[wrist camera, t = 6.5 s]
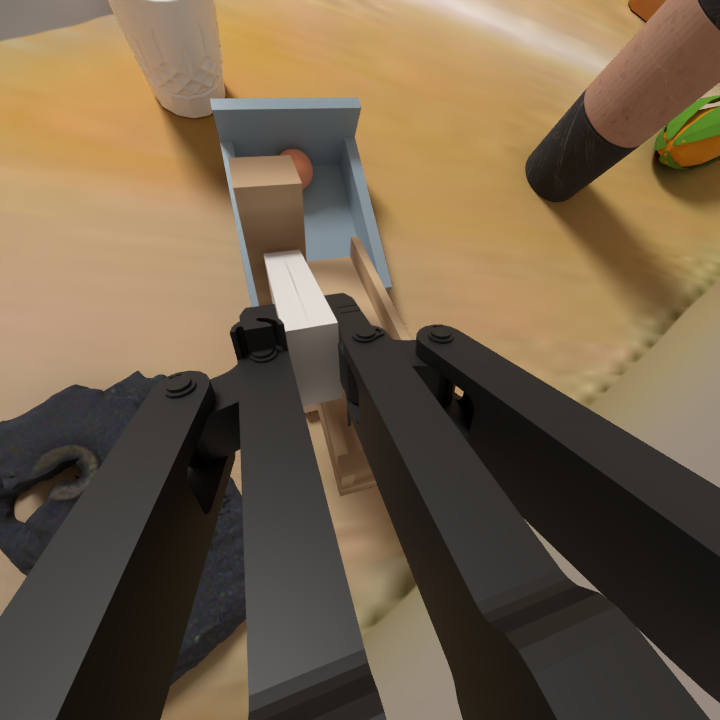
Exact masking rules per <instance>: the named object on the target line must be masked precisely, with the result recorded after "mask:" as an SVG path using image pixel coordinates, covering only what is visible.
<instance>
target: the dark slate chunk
mask: <svg viewBox="0 0 720 720" xmlns="http://www.w3.org/2000/svg"><path fill="white" fill-rule="evenodd" d="M166 377H167V376H165V375H157V376H155V377H154V378H146V377H144V376H143V375H142V374H141V373H140V372H139V371H136V372H135V373H133V374H132V375H130V376H129V377H127V378H126V379H124V380H123V381H121V382H119V383H117V384H115V385H113V386H111V387H110V388H108V389H107V390H105V391H102V390H99V389H90V388H88V387H84V386H80V385H77V384H76V385H73V386H70V387H68V388H66V389H64V390H62V391H61V392H59V393H57V394H55V395H53V396H51V397H50V398H49V399H48V400H46V401H45V402H44V403H42V404H40V405H39V406H37V407H35V408H33V409H31V410H30V411H28V412H27V413H25V414H23V415H21V416H19V417H16V418H14V419H12V420H8V421H1V422H0V549H1V551H2V552H3V553H4V554H5V555H6V556H7V557H8V558H9V559H10V561H11V562H12V563H13V564H14V565H15V566H16V567H17V568H18V569H19V570H20V571H21V572H22V573H23V574H25V575H27V576H28V574H29V573H30V571H31V570H32V568H33V567H34V565H35V564H36V562H37V561H38V559H39V558H40V556H41V555H42V553H43V552H44V550H45V549H46V547H47V546H48V544H49V543H50V541H51V540H52V538H53V537H54V535H55V534H56V532H57V531H58V529H59V528H60V526H61V525H62V523H63V522H64V520H65V519H66V517H67V516H68V514H69V513H70V511H71V510H72V508H73V507H74V505H75V504H76V502H77V501H78V499H79V498H80V496H81V495H82V493H83V492H84V490H85V489H86V487H87V486H88V484H89V483H90V481H91V480H92V478H93V477H94V475H95V474H96V472H97V471H98V469H99V468H100V466H101V465H102V463H103V462H104V460H105V458H106V457H107V455H108V454H109V452H110V451H111V449H112V448H113V446H114V445H115V443H116V442H117V440H118V439H119V437H120V436H121V434H122V433H123V431H124V430H125V428H126V427H127V425H128V424H129V422H130V421H131V419H132V418H133V416H134V415H135V413H136V412H137V410H138V409H139V407H140V406H141V404H142V403H143V401H144V400H145V398H146V397H147V395H148V394H149V392H150V391H151V389H152V388H153V387H154V386H155V385H156V384H157V383H158V382H160V381H161V380H163V379H165V378H166ZM75 463H76V464H77V465H78V466H79V467H80V469H81V471H82V475H81V477H80V478H78V477H77V476H76V475H75V476H76V477H77V478H78V480H76V481H73V482H71V483H70V482H68V481H67V480H66V479H65V480H64V481H62V482H61V483H59V484H58V485H56V486H55V487H54V488H53V489H52V490H51V491H50V493H49V495H48V499H47V501H46V503H44V504H43V505H42V506H40V507H39V508H38V509H37V510H36V511H35V512H34V513H33V514H32V515H31V517H30V518H29V519H28V520H27V521H26V522H25V523H23V522H20V521H18V520H17V519H16V518H15V516H14V503H15V501H16V499H17V498H18V497H19V496H20V495H21V494H22V493H23V492H25V491H27V490H29V489H30V488H31V487H32V486H34V485H36V484H37V483H39V482H41V481H44V480H48V479H51V478H53V477H54V476H55V475H57V474H59V473H60V472H62V471H63V470H65V469H66V468H68V467H70V466H72V465H73V464H75ZM245 618H246V597H245V568H244V538H243V508H242V496H241V494H240V492H239V490H238V489H237V487H236V485H235V483H234V481H233V479H232V478H231V477H230V478H229V481H228V485H227V488H226V492H225V495H224V499H223V502H222V506H221V509H220V513H219V516H218V520H217V523H216V527H215V530H214V534H213V537H212V541H211V544H210V548H209V551H208V555H207V558H206V562H205V565H204V569H203V572H202V575H201V579H200V582H199V586H198V589H197V593H196V596H195V600H194V603H193V607H192V610H191V614H190V617H189V621H188V624H187V628H186V631H185V635H184V638H183V642H182V645H181V649H180V652H179V656H178V659H177V663H176V666H175V670H174V673H173V677H172V680H171V684H170V685H172V684H173V683H174V682H175V681H176V680H177V679H178V678H180V677H181V676H182V675H183V674H184V673H186V672H187V671H188V670H190V669H192V668H193V667H195V666H197V665H198V663H199V662H201V661H202V660H203V659H204V658H205V657H206V656H207V655H208V654H209V653H210V652H211V651H212V650H213V649H214V648H215V647H216V646H217V645H218V644H219V643H221V642H223V641H224V640H225V639H226V638H227V637H229V636H230V635H231V634H232V633H233V632H234V630H235V629H236V628H237V627H238V625H239V624H241V623H242V622H243V621H244V619H245Z"/></svg>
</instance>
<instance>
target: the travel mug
mask: <svg viewBox="0 0 720 720" xmlns="http://www.w3.org/2000/svg"><path fill="white" fill-rule="evenodd" d="M719 82H720V0H666V1H665V2H664V4H663V5H662V6H661V7H660V8H659V9H658V10H657V11H656V12H655V14H654V15H653V16H652V17H651V18H650V19H649V20H648V21H647V22H646V23H645V25H644V26H643V27H642V28H641V29H640V30H639V31H638V32H637V33H636V35H635V36H634V37H633V38H632V39H631V40H630V41H629V42H628V43H627V44H626V46H625V47H624V48H623V49H622V50H621V51H620V52H619V53H618V54H617V56H616V57H615V58H614V59H613V60H612V61H611V62H610V63H609V64H608V65H607V67H606V68H605V69H604V70H603V71H602V72H601V73H600V74H599V75H598V77H597V78H596V79H595V80H594V81H593V82H592V83H591V84H590V85H589V87H588V88H587V89H586V90H585V91H584V92H583V93H582V95H581V96H580V97H579V98H578V99H577V101H576V102H575V103H574V104H573V105H572V106H571V108H570V109H569V110H568V111H567V112H566V114H565V115H564V116H563V117H562V118H561V119H560V121H559V122H558V123H557V124H556V125H555V126H554V128H553V129H552V130H551V131H550V132H549V134H548V135H547V136H546V137H545V138H544V139H543V141H542V142H541V143H540V144H539V145H538V147H537V148H536V149H535V150H534V151H533V153H532V154H531V155H530V156H529V158H528V160H527V162H526V176H527V179H528V182H529V183H530V185H531V187H532V188H533V189H534V190H535V192H536V193H538V194H539V195H540V196H541V197H543V198H545V199H547V200H549V201H553V202H561V201H565V200H567V199H569V198H570V197H572V196H573V195H575V194H576V193H577V192H579V191H580V190H582V189H583V188H584V187H586V186H587V185H588V184H590V183H591V182H592V181H594V180H595V179H596V178H598V177H599V176H600V175H602V174H603V173H604V172H606V171H607V170H608V169H610V168H611V167H612V166H614V165H615V164H616V163H618V162H619V161H620V160H622V159H623V158H624V157H626V156H627V155H628V154H630V153H631V152H632V151H634V150H635V149H636V148H638V147H639V146H640V145H641V144H643V143H644V142H645V141H647V140H648V139H649V138H650V137H652V136H653V135H654V134H655V133H657V132H658V131H659V130H660V129H662V128H663V127H664V126H665V125H667V124H668V123H669V122H670V121H672V120H673V119H674V118H675V117H677V116H678V115H679V114H680V113H682V112H683V111H684V110H685V109H687V108H688V107H689V106H690V105H692V104H693V103H694V102H695V101H697V100H698V99H699V98H700V97H702V96H703V95H704V94H705V93H707V92H708V91H709V90H710V89H712V88H713V87H714V86H715V85H717V84H718V83H719Z"/></svg>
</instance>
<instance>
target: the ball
mask: <svg viewBox="0 0 720 720" xmlns="http://www.w3.org/2000/svg"><path fill="white" fill-rule="evenodd" d="M282 155H291V158H292V160H293V163H294V165H295V168H296V170H297V173H298V175H299V177H300V180H301V182H302V190H304V189H305V188H307V187H308V185H309V184H310V182H311V180H312V177H313V167H312V164H311V161H310V160H309V158H308V157H307V155H306V154H304V153H303V152H302V151H300V150H297V149H287V150H285V151H283V152H282V153H281V154H280V155H279V156H282Z"/></svg>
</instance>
